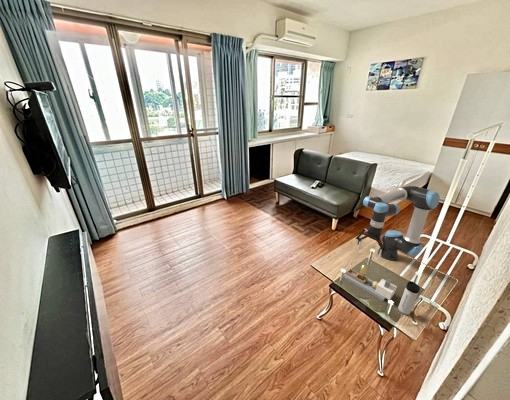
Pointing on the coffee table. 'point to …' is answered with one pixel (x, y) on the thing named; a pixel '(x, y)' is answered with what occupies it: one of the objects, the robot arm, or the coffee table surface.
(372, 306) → the coffee table surface
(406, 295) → the travel mug
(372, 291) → the board
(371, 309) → the coffee table surface
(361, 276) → the brass pin
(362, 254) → the coffee table surface
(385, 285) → the cover
